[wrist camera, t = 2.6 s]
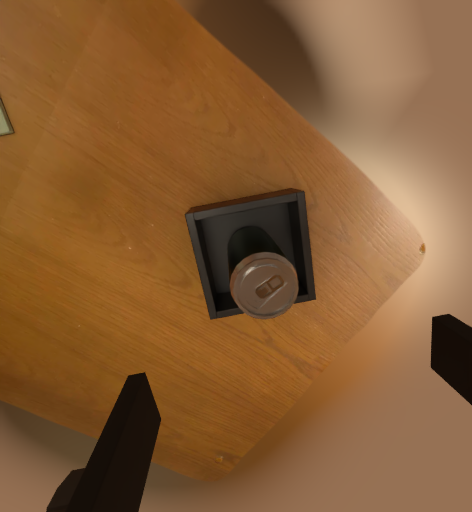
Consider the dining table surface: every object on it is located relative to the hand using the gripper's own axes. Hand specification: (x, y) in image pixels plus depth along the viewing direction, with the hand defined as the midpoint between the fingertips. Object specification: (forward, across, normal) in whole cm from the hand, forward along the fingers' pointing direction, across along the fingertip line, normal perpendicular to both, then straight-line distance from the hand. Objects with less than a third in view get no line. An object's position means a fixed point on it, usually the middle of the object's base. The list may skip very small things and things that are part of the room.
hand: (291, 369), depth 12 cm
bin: (+21, 0, 0) cm, 21 cm away
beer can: (+20, 0, 0) cm, 21 cm away
